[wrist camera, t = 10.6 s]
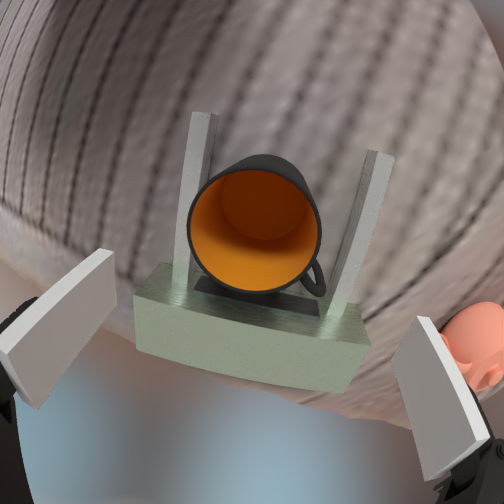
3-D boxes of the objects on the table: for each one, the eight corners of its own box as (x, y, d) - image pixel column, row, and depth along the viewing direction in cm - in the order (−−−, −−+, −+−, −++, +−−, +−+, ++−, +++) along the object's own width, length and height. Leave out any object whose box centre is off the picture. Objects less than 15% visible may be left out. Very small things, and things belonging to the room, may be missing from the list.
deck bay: (178, 111, 24) (145, 105, 18) (404, 162, 24) (439, 172, 17) (159, 313, 33) (136, 349, 27) (335, 350, 33) (343, 393, 26)
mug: (285, 280, 30) (283, 347, 20) (203, 195, 27) (160, 229, 18) (349, 231, 27) (379, 283, 17) (267, 135, 24) (256, 135, 15)
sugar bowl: (468, 364, 32) (493, 409, 23) (403, 361, 33) (424, 418, 23) (507, 298, 28) (544, 340, 18) (445, 283, 28) (487, 335, 18)
